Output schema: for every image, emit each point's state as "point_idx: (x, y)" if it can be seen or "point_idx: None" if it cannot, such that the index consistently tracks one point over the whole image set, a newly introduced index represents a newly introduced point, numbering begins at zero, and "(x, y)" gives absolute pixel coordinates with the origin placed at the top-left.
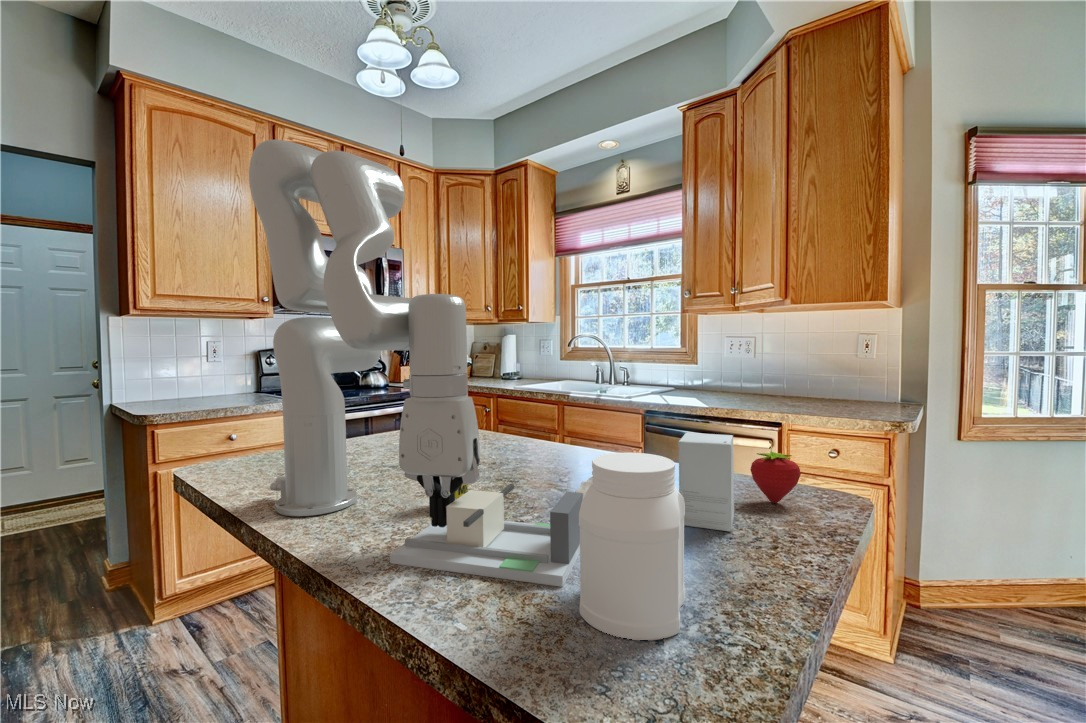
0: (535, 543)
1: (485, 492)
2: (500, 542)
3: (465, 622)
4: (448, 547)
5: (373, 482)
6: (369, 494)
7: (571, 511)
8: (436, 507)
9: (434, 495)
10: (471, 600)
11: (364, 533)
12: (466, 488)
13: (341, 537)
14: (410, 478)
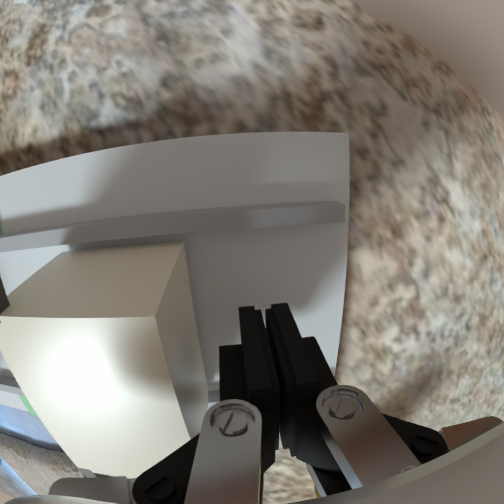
0: None
1: (133, 473)
2: None
3: (18, 8)
4: (159, 215)
5: None
6: (489, 403)
7: None
8: (278, 355)
9: (313, 405)
10: (25, 63)
11: (471, 278)
12: (316, 493)
13: (499, 242)
14: (471, 423)
